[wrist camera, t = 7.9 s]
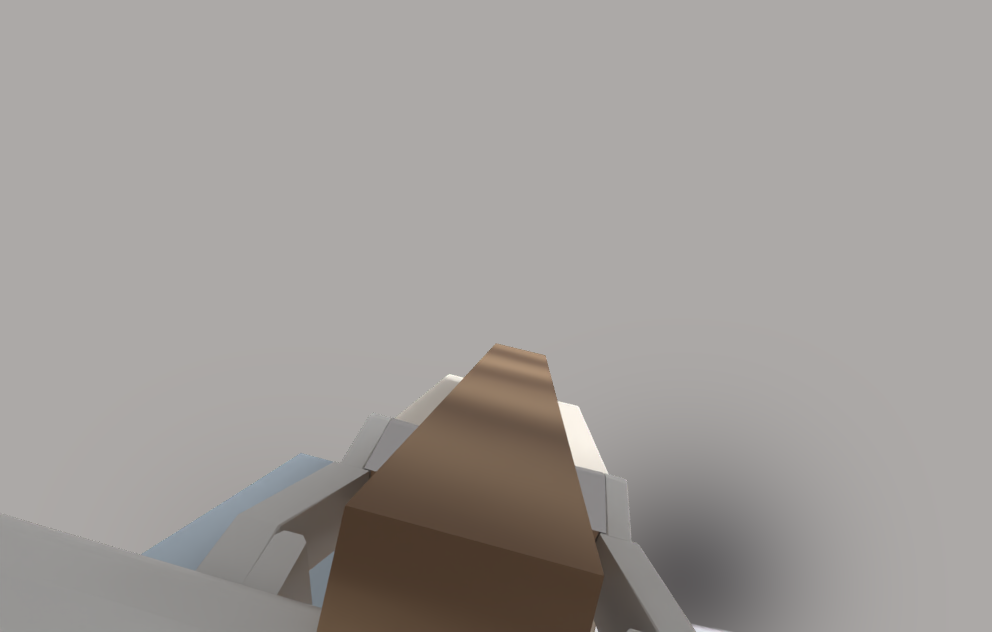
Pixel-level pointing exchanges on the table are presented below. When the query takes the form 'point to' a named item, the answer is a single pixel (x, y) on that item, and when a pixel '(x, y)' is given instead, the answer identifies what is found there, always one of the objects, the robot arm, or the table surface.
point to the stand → (207, 529)
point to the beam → (472, 518)
